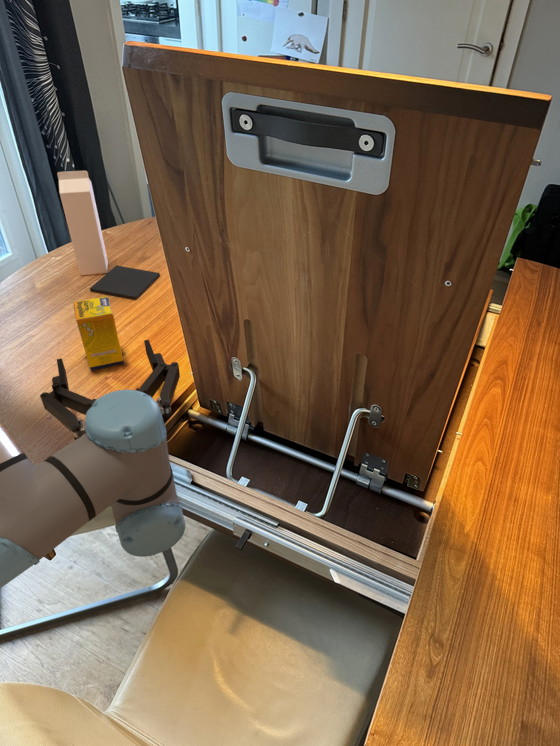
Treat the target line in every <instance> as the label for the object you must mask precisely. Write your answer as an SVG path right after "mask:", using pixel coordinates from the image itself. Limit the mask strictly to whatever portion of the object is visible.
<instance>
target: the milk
mask: <svg viewBox="0 0 560 746" xmlns="http://www.w3.org/2000/svg"><path fill="white" fill-rule="evenodd" d="M56 175H57V179H58V190H59V191H58V193H59V196H60V197H59V198H60V200H61V204H62V208H63V212H64V215H65V216H64V217H65V220H66V224H67V228H68V233H69V236H70V241H71V244H72V248H73V252H74V255H75V260H76V264H77V268H78V271H79V275H80V276H92V275H101V274H102V275H103V274H107V273H108V272H109V271H108V269H109V268H108V267H109V266H108V265H109V260H108V255H107V251H106V246H105V241H104V236H103V232H102V227H101V221H100V217H99V212H98V208H97V203H96V197H95V193H94V188H93V184H92V180H91V179H90V178H89V172H88V171H87V170H72V171H58V172H57V173H56Z"/></svg>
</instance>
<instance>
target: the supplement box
mask: <svg viewBox="0 0 560 746" xmlns="http://www.w3.org/2000/svg"><path fill="white" fill-rule="evenodd" d="M72 303H73V309H74V316H75V321H76V325H77V327H78V332H79V335H80V338H81V342H82V345H83V349H84V353H85V356H86V360H87V364H88V367H89V369H90V371H92V372H94V371H97V370H101V369H107V368H111V367H115V366H120V365H123V364H124V363H125V361H124V357H123V352H122V349H121V344H120V340H119V336H118V331H117V325H116V321H115V316H114V313H113V311H112V305H111V301H110V298H109V296H108V295H107V296H101V297H94V298H90V299H84V300H77V301H74V302H72Z"/></svg>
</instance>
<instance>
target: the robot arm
mask: <svg viewBox="0 0 560 746" xmlns="http://www.w3.org/2000/svg"><path fill="white" fill-rule="evenodd" d="M143 343H144V348H145V353H146V356H147V359H148V362H149V365H150V367H151V370H152V371H151V373H150V374H149V375H148V376H147V377H146V379H145V380H144V382H143V383H142V384H141V385H140V387H136V388H135V389H119V390H114V391H111V392H108V393H106V394H104V395H101V396H100V397H98V398H92V399H91V398H88V397H86V396H84V395H81V394H79V393H77V392H75V391H72V390H70V388H69V383H68V376H67V370H66V367H65V365H64V361H63V358H62V357H61V358H56V365H57V371H58V375H56V376H52V379H51V388H52V391H50V392H42V393H41V394H40V395H39V397H40V400H41V402H42V405H43V408H44V410H45V411H47V412H48V413H49V414H50V415H51V416H53V417H54V418H55V420H57V421H58V422H59V423H61V424H62V425H63V426H64V427H65V428H66V429H67V430H69V431H70V432H71V435H72V437H73V441H71V442H70V443H68V444H67V445H66V446H64V447H62V448H61V449H59V450H58V451H56V452H55V453H53V454H52V455H50V456H49V457H47V458H45V459H43V460H42V461H40V462H39V463H37V464H34V463H33V462H32V461H31V460H30V458H28V456H27V455H26V452H25V451H24V449H23V448H22V447H21V446H20V444H19V443H18V441H17V440H16V439H15V437H14V436H13V435H12V433H11V432H10V430H9V429H8V428H7V426H5V424H4V423H3V422H2V420H1V419H0V589H2V588H3V587H5V586H6V585H7V584H9V583H10V582H11V581H13V580H15V579H16V578H17V577H19V576H20V575H21V574H23V573H25V571H27V570H29V569H30V568H31V567H33V566H36V565H38V564H39V563H40V562H41V561H40V560H41V559H43V558H45V557H46V556H47V555H48V554H49V553H51V552H52V551H53V550H54V549H56V548H57V547H58V546H59V545H61V544H62V543H63V542H64V541H66V540H68V538H70V537H71V536H72V535H73V534H75V533H76V532H77V531H79V530H80V529H81V528H83V527H84V526H85V525H87V523H89V522H90V521H92V520H93V519H95V518H97V516H99V515H100V514H102V513H103V512H104V511H105V510H107V509H108V508H109V507H110V508H111V511H112V514H113V519H114V522H115V526H114V528H115V532H116V533H117V536H118V539H119V543H120V546H121V548H122V549H123V550H124V551H125V552H126V553H127V554H129V555H131V556H133V557H139V558H140V557H141V558H142V557H145V558H146V557H153V556H155V555H158V554H161V553H165V552H166V551H168V550H170V549H171V548H173V547H174V546H175V545H177V544H178V542H180V540H181V539H182V537H183V535H184V534H185V530H186V520H185V517H184V512H183V511H184V510H183V506H182V504H181V503H180V500H179V497H178V493H177V490H176V484H175V478H174V473H173V472H174V471H173V468H172V465H171V463H170V454H169V448H168V439H167V435H168V434H167V428H166V424H165V422H164V417H165V418H169V417H171V416H172V407H171V406H172V402H173V398H174V396H175V392H176V390H177V386H178V383H179V380H180V377H181V373H180V365H179V363H178V362H177V361H173V362H171V363H170V364H167V363H166V362H165V360H164V358H163V355H162V353H161V352H158V353H157V352H156V353H154V350H153V347H152V344H151V342H150V339H145V340H143ZM160 388H161V390H160ZM159 390H160V393H159V397H157V398H156V400H155V399H154V398H153V397H154V396H155V395H156V393H157V392H158V391H159ZM71 410H72V411H75V412H77V413H79V414H82V415H84V416H85V419H82V418H81V417H77V415H76V414H75V413H73V412H72V411H71Z"/></svg>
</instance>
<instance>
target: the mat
mask: <svg viewBox="0 0 560 746" xmlns="http://www.w3.org/2000/svg"><path fill="white" fill-rule="evenodd" d="M160 276H161V273H160V272H158V271H157V272H156V271H150V270H145V269H140V268H135V267H128V266H122V265H117V264H116V265H115V266H114V267H113V268H112V269H110V270H109V271H108V272H107V273H105V274H104V275H103V276H102V277H101V278H100V279H99V280H97V281H96V282H95V283H94V284H93V285H92V286H91V287H90V288H89V292H91V293H97V294H102V295H107V296H113V297H117V298H123V299H128V300H133V301H137V300H138V299H139V298H140V297H141V296H142V295H143V294H144V293H145V292H147V290H148V289H149V288H150V287H151V286H152V285H153V284H154V283H155V282H156V281H157V280H158V279H159V278H160Z"/></svg>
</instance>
